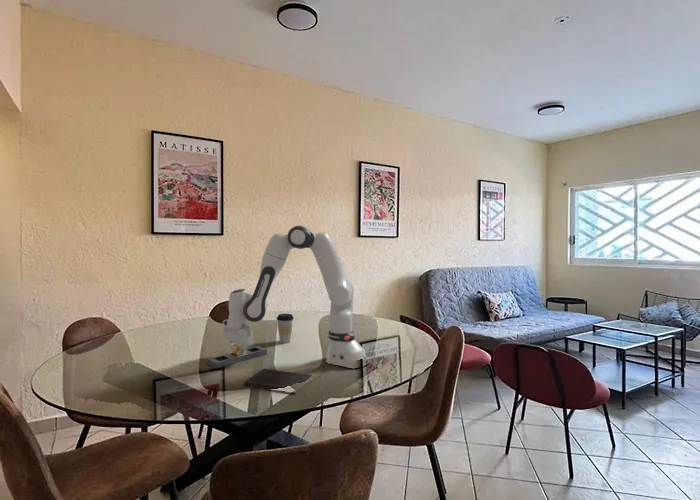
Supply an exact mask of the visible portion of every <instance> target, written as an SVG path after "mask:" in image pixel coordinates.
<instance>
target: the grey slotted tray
mask: <svg viewBox="0 0 700 500" xmlns="http://www.w3.org/2000/svg"><path fill="white" fill-rule="evenodd" d="M265 355H268V349H267V348H264V347H262V346H259V345H254V346H251V347H248V348H247V350H246V353H245V354H243V355H239V356H234V355H232V351H231V352H229V353H225V354H221V355H220V354H219V355H218V356H214V357H213V356H212V357H210V358H207V359H206V361H207V362H206V364H207V365H208V366H210V367H212V368H215V369H220V368H222V367H227V366H230V365H233V364H237V363H240V361H241V362H244V361H248V360H251V359H254V358H258V357H261V356H265ZM243 360H244V361H243Z"/></svg>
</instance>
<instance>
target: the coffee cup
mask: <svg viewBox="0 0 700 500" xmlns="http://www.w3.org/2000/svg"><path fill="white" fill-rule="evenodd" d="M294 319H295V318H294V316H293V314H291V313H279V314H277V317H276V320H277V330H278V337H279V343H281V344H289V343H290V342H291V339H292V333H293V320H294Z"/></svg>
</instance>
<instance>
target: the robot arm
mask: <svg viewBox="0 0 700 500" xmlns="http://www.w3.org/2000/svg"><path fill="white" fill-rule="evenodd" d="M335 245H336V244H335V243H334V242H333V240H332V238H331V236H330V235H329V234H328V233H327V232H326V231H325V232H324V231H320V232H317V233H313V232H312V231H311V230H310V229H309V228H308V227H306V226H304V225H295V226H293V227H291V228H290V229H289V231H288V232H287V234H284V233H280V232H277V233H274V234H273V235H272V236H271V237H270V239H269V242H268V243H267V245H266V247H265V250H264V252H263V255H262V258H261V265H260V271H259V277H258V281H257V284H256V286H255V289H254V292H253V293H251V292H250V291H248V290H247V289H245V288H239V289H235V290H233V291H231V292H230V294H229V297H228V310H229V311H228V313H229V314H228V319H224V320H222V324H223V329H222V330H223V331H222V332H223V338H224V339H225V340H228V343H229V346H230V349H231V350H232V345H234V344H235V343H236V344H238V343H239V344H242V345H243V349H242V353H243V354H245V353H246V350H247V348H249V346H253V344H254V334H253V330H252V328H251V327H250V326H249V324H248V323H249V322H252V323H257V322H259V321H261V320H263V318H265V315H266V311H267V309H268V302H267V301H268V300H267V299H268V294H269V292H270V290H271V286H272V284H273V283H274V281H275V279H276V278H277V277H278V276H279V274H280V273H281V271H282V270H283V268H284V267H285V264H286V261H287V258H288V256H289V253H290V252H291V250H292V249H297V250H302V249H303V250H304V249H310V251H311V252H312V254H313V256H314V258H315V261H316V263H317V266H318V269H319V270H320V273H321V276H322V280H323V281H324V282H323V283H324V286H325V289H326V292H327V295H328V298H329V300H330V311H329V330H328V339H329V340H328V346H327V351H326V352H327V353H326V357H325V363H326V362H329V361H330V360H337V361H356V360H360V359H363V358H364V357H366V358H367V356H366V350H365V348H364V347H362V345H361V344H360V343H359V342H358V341H357V340H356V336H357V333H355V332H354V330H353V311H354V310H353V309H354V294H355V293H354V292H355V290H354V284H353V283H352V282H351V281H350V280H349V279H348V277H347V274H346V272H345V267H344V264H343V263H342V261H341V260H342V259H341V257H340V255H339V253H338V250H337V248H336V246H335ZM326 359H327V360H326Z"/></svg>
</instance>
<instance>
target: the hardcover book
mask: <svg viewBox="0 0 700 500" xmlns="http://www.w3.org/2000/svg"><path fill="white" fill-rule="evenodd" d="M312 376H313V374H308V373H307V374H305V373H299V372H292V371H283V370H275V369H269V368H263V369H261V370H260V371H258V372H257V373H256V374H254V375H252V376H251V377H250V378H249V377H248V379H247V380H245V381H244V385H245V386H244V385H243V386H244V387H246V386H252V387H251V388H253V387H255V388H254V389H259V388H264V389H263V390H266V389H278V388H285V387H287V386H292V385H293V384H294V383H295V384H296V383H302V382H305V381H306V380H308V379H309V378H310V377H311V378H312Z"/></svg>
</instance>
